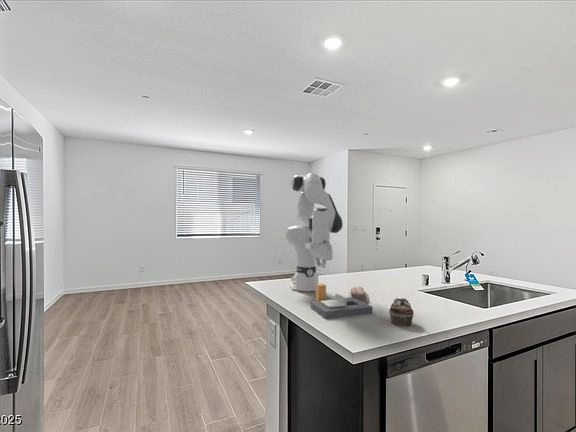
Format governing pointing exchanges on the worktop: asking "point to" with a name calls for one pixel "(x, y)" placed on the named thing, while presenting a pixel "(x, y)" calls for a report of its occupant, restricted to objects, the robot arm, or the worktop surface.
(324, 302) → the shutter
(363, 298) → the packaged product
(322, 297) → the orange block
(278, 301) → the worktop surface
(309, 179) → the robot arm
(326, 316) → the socket plate
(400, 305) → the cupcake
